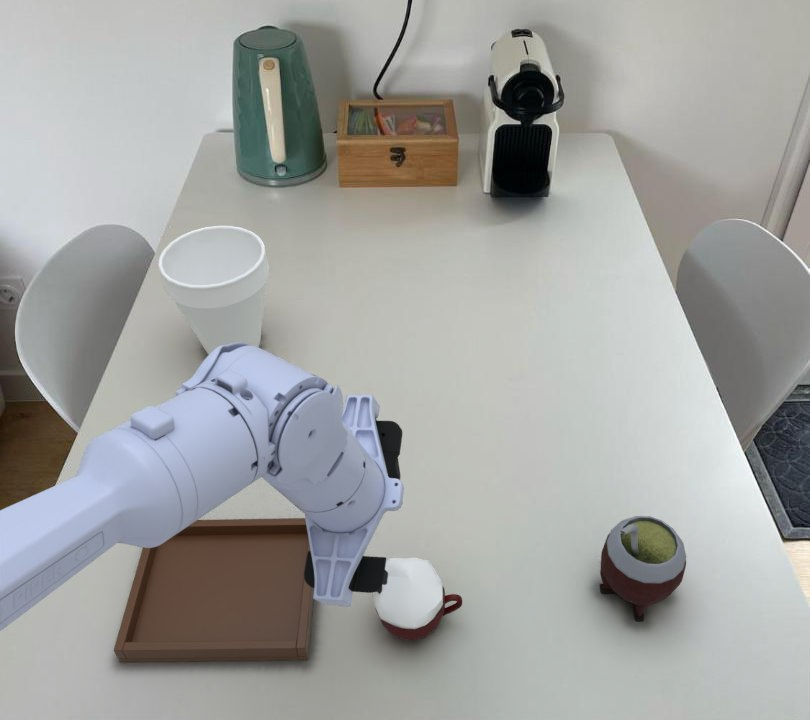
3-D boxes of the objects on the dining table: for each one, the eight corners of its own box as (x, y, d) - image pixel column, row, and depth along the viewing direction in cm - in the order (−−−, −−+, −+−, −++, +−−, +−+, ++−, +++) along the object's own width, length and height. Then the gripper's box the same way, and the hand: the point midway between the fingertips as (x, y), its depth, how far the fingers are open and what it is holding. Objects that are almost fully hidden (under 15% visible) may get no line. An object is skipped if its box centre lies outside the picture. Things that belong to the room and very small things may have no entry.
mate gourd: (666, 559, 77) (699, 455, 67) (681, 636, 71) (721, 536, 61) (586, 556, 77) (607, 453, 67) (595, 633, 72) (620, 532, 61)
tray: (119, 662, 71) (113, 650, 70) (155, 532, 81) (150, 520, 80) (308, 660, 71) (305, 648, 69) (320, 530, 81) (318, 517, 79)
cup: (205, 308, 107) (183, 220, 98) (294, 317, 105) (279, 229, 96) (167, 371, 99) (138, 281, 89) (263, 383, 96) (244, 292, 87)
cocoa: (467, 606, 74) (470, 528, 66) (441, 667, 70) (441, 591, 62) (373, 571, 77) (365, 493, 69) (343, 627, 73) (330, 551, 65)
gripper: (366, 588, 47) (421, 630, 59) (397, 366, 53) (440, 443, 65) (255, 581, 49) (329, 622, 61) (298, 367, 55) (357, 441, 67)
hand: (381, 529), depth 63 cm, fingers open, 7 cm apart
